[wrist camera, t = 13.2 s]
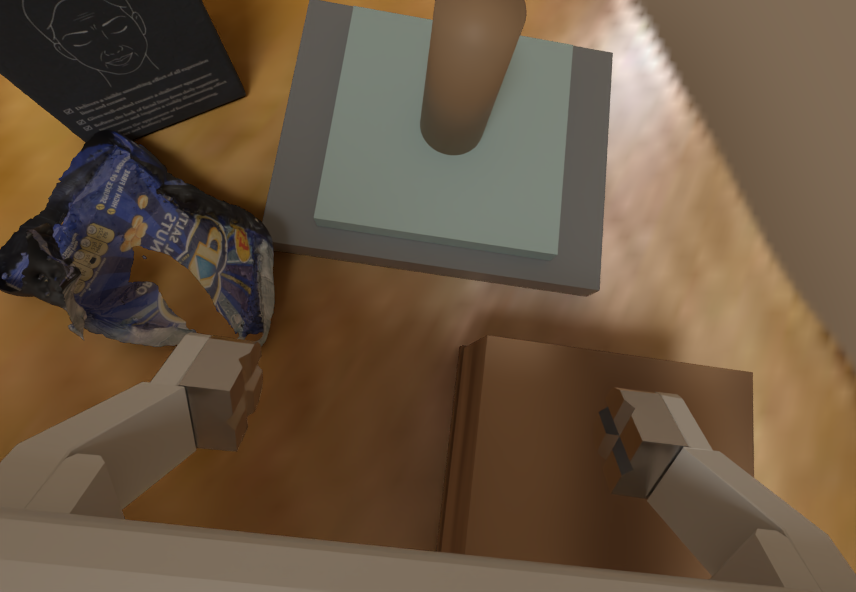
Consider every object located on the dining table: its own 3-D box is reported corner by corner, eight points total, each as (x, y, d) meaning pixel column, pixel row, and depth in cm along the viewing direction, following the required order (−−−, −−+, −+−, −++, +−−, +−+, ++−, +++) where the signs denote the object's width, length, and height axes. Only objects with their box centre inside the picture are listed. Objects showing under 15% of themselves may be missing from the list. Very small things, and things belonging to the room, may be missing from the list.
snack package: (94, 450, 21) (326, 317, 23) (-49, 449, 15) (283, 266, 17) (20, 242, 24) (226, 139, 26) (-120, 171, 18) (161, 43, 20)
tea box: (433, 578, 21) (451, 652, 15) (459, 346, 23) (485, 332, 17) (656, 602, 21) (759, 683, 15) (662, 374, 23) (755, 370, 17)
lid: (316, 225, 22) (277, 132, 14) (354, 21, 24) (339, -158, 16) (550, 260, 22) (638, 190, 14) (565, 58, 25) (649, -96, 17)
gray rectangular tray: (266, 249, 23) (257, 239, 21) (314, 21, 26) (309, -3, 24) (586, 296, 24) (600, 290, 22) (599, 71, 26) (613, 51, 25)
